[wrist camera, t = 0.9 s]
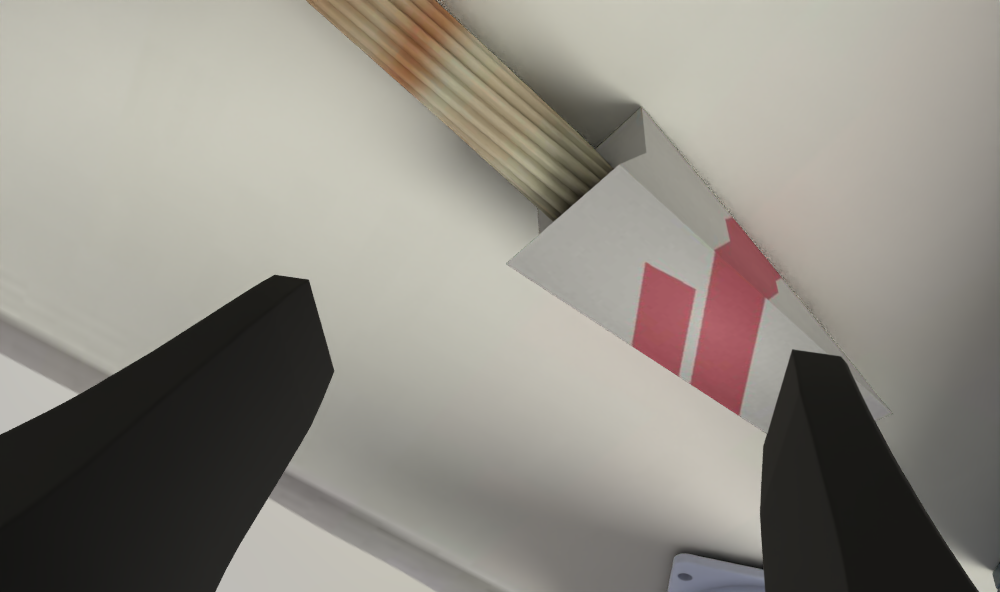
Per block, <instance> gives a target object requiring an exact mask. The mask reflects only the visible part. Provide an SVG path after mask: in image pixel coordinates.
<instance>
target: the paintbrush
mask: <svg viewBox="0 0 1000 592" xmlns="http://www.w3.org/2000/svg"><path fill="white" fill-rule="evenodd" d="M306 1H307V2H308V3H309V4H310V5H312V6H313V7H314V8H315V9H316V10H317V11H318V12H320V13H321V14H322V15H323V16H324V17H325V18H326V19H327V20H329V21H330V22H331V23H332V24H333V25H334V26H335V27H336V28H338V29H339V30H340V31H341V32H342V33H343V34H344V35H345V36H347V37H348V38H349V39H350V40H351V41H352V42H353V43H354V44H356V45H357V46H358V47H359V48H360V49H361V50H362V51H363V52H365V53H366V54H367V55H368V56H369V57H370V58H371V59H372V60H374V61H375V62H376V63H377V64H378V65H379V66H380V67H382V68H383V69H384V70H385V71H386V72H387V73H388V74H389V75H391V76H392V77H393V78H394V79H395V80H396V81H397V82H398V83H400V84H401V85H402V86H403V87H404V88H405V89H406V90H407V91H409V92H410V93H411V94H412V95H413V96H414V97H415V98H416V99H418V100H419V101H420V102H421V103H422V104H423V105H424V106H425V107H427V108H428V109H429V110H430V111H431V112H432V113H433V114H434V115H436V116H437V117H438V118H439V119H440V120H441V121H442V122H444V123H445V124H446V125H447V126H448V127H449V128H450V129H451V130H452V131H454V132H455V133H456V134H457V135H458V136H459V137H460V138H461V139H462V140H463V141H465V142H466V143H467V144H468V145H469V146H470V147H471V148H472V149H473V150H474V151H476V152H477V153H478V154H479V155H480V156H481V157H482V158H483V159H484V160H485V161H487V162H488V163H489V164H490V165H491V166H492V167H493V168H494V169H495V170H496V171H498V172H499V173H500V174H501V175H502V176H503V177H504V178H505V179H506V180H508V181H509V182H510V183H511V184H512V185H513V186H514V187H515V188H516V189H517V190H519V191H520V192H521V193H522V194H523V195H524V196H525V197H526V198H527V199H529V200H530V201H531V202H532V203H533V204H534V205H535V206H536V207H537V208H538V224H539V235H538V236H537V237H536V238H535V239H533V240H532V241H531V242H530V243H529V244H528V245H527V246H525V247H524V248H523V249H522V250H521V251H520V252H518V253H517V254H516V255H515V256H514V257H513V258H512V259H510V260H509V261H508V262H507V263H506V264H507V265H508V266H510V267H511V268H513V269H514V270H516V271H517V272H519V273H520V274H522V275H523V276H525V277H527V278H528V279H530V280H531V281H533V282H534V283H536V284H537V285H539V286H540V287H542V288H543V289H545V290H546V291H548V292H550V293H551V294H553V295H554V296H556V297H557V298H559V299H560V300H562V301H563V302H565V303H566V304H568V305H570V306H571V307H573V308H574V309H576V310H577V311H579V312H580V313H582V314H583V315H585V316H586V317H588V318H590V319H591V320H593V321H594V322H596V323H597V324H599V325H600V326H602V327H603V328H605V329H606V330H608V331H610V332H611V333H613V334H614V335H616V336H617V337H619V338H620V339H622V340H623V341H625V342H626V343H628V344H630V345H631V346H633V347H634V348H636V349H637V350H639V351H640V352H642V353H643V354H645V355H646V356H648V357H649V358H651V359H653V360H654V361H656V362H657V363H659V364H660V365H662V366H663V367H665V368H666V369H668V370H669V371H671V372H673V373H674V374H676V375H677V376H679V377H680V378H682V379H683V380H685V381H686V382H688V383H689V384H691V385H693V386H694V387H696V388H697V389H699V390H700V391H702V392H703V393H705V394H706V395H708V396H709V397H711V398H713V399H714V400H716V401H717V402H719V403H720V404H722V405H723V406H725V407H726V408H728V409H729V410H731V411H733V412H734V413H736V414H737V415H739V416H740V417H742V418H743V419H745V420H746V421H748V422H749V423H751V424H752V425H754V426H756V427H757V428H759V429H760V430H762V431H763V432H765V433H766V434H767V433H768V429H769V426H770V423H771V419H772V416H773V412H774V409H775V406H776V402H777V399H778V395H779V392H780V389H781V385H782V382H783V378H784V375H785V372H786V368H787V365H788V362H789V358H790V355H791V351H792V349H794V350H801V351H808V352H815V353H822V354H829V355H836V356H841V357H842V358H843V359H844V360H845V362H846V363H847V364H848V366H849V369H850V371H851V373H852V375H853V377H854V380H855V382H856V384H857V386H858V388H859V390H860V392H861V394H862V396H863V398H864V400H865V402H866V404H867V406H868V408H869V410H870V412H871V414H872V416H873V418H874V420H875V421H877V420H880V419H882V418H884V417H887V416H889V415H892V414H893V413H892V412H891V411H890V409H889V408H888V407H887V406H886V404H885V403H884V402H883V401H882V400H881V398H880V397H879V396H878V395H877V393H876V392H875V391H874V390H873V389H872V387H871V386H870V385H869V384H868V382H867V381H866V380H865V379H864V378H863V376H862V375H861V374H860V373H859V371H858V370H857V369H856V368H855V367H854V365H853V364H852V363H851V362H850V360H849V359H848V358H847V357H846V356H845V354H844V353H843V352H842V351H841V349H840V348H839V347H838V346H837V345H836V343H835V342H834V341H833V340H832V338H831V337H830V336H829V335H828V334H827V332H826V331H825V330H824V329H823V327H822V326H821V325H820V324H819V323H818V321H817V320H816V319H815V318H814V316H813V315H812V314H811V313H810V312H809V310H808V309H807V308H806V307H805V305H804V304H803V303H802V302H801V301H800V299H799V298H798V297H797V296H796V294H795V293H794V292H793V291H792V290H791V288H790V287H789V286H788V285H787V283H786V282H785V281H784V280H783V279H782V277H781V276H780V275H779V274H778V272H777V271H776V270H775V269H774V268H773V266H772V265H771V264H770V263H769V261H768V260H767V259H766V258H765V257H764V255H763V254H762V253H761V252H760V250H759V249H758V248H757V247H756V246H755V244H754V243H753V242H752V241H751V239H750V238H749V237H748V236H747V234H746V233H745V232H744V231H743V230H742V228H741V227H740V226H739V225H738V223H737V222H736V221H735V220H734V219H733V217H732V216H731V215H730V214H729V212H728V211H727V210H726V209H725V208H724V206H723V205H722V204H721V203H720V201H719V200H718V199H717V198H716V197H715V195H714V194H713V193H712V192H711V190H710V189H709V188H708V187H707V186H706V184H705V183H704V182H703V181H702V179H701V178H700V177H699V176H698V175H697V173H696V172H695V171H694V170H693V168H692V167H691V166H690V165H689V164H688V162H687V161H686V160H685V159H684V157H683V156H682V155H681V154H680V153H679V151H678V150H677V149H676V148H675V146H674V145H673V144H672V143H671V142H670V140H669V139H668V138H667V137H666V135H665V134H664V133H663V132H662V131H661V129H660V128H659V127H658V126H657V124H656V123H655V122H654V121H653V120H652V118H651V117H650V116H649V115H648V113H647V112H646V111H645V110H644V109H643V107H640V108H639V109H638V110H637V111H636V112H635V113H634V114H633V115H632V116H631V117H630V118H629V119H628V120H626V121H625V122H624V123H623V124H622V125H621V126H620V127H619V128H618V129H617V130H616V131H615V132H613V133H612V134H611V135H610V136H609V137H608V138H607V139H606V140H605V141H604V142H603V143H602V144H600V145H599V146H598V147H597V148H596V149H594V148H593V147H592V146H591V145H590V144H589V143H588V142H587V141H586V140H585V139H584V138H583V137H582V136H581V135H580V134H578V133H577V132H576V131H575V130H574V129H573V128H572V127H571V126H570V125H569V124H568V123H567V122H566V121H565V120H563V119H562V118H561V117H560V116H559V115H558V114H557V113H556V112H555V111H554V110H553V109H552V108H551V107H549V106H548V105H547V104H546V103H545V102H544V101H543V100H542V99H541V98H540V97H539V96H538V95H537V94H535V93H534V92H533V91H532V90H531V89H530V88H529V87H528V86H527V85H526V84H525V83H524V82H523V81H522V80H520V79H519V78H518V77H517V76H516V75H515V74H514V73H513V72H512V71H511V70H510V69H509V68H508V67H506V66H505V65H504V64H503V63H502V62H501V61H500V60H499V59H498V58H497V57H496V56H495V55H494V54H493V53H491V52H490V51H489V50H488V49H487V48H486V47H485V46H484V45H483V44H482V43H481V42H480V41H478V40H477V39H476V38H475V37H474V36H473V35H472V34H471V33H470V32H469V31H468V30H467V29H465V28H464V27H463V26H462V25H461V24H460V23H459V22H458V21H457V20H456V19H455V18H454V17H452V16H451V15H450V14H449V13H448V12H447V11H446V10H445V9H444V8H443V7H442V6H441V5H439V4H438V3H437V2H436V1H435V0H306Z"/></svg>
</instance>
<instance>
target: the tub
mask: <svg viewBox="0 0 1000 592" xmlns="http://www.w3.org/2000/svg"><path fill="white" fill-rule="evenodd" d="M993 578H994V582H995V586H996V588H997V589H998V591H997V592H1000V563H999V565H998V566H997V567H996V569H995V570H994V571H993Z"/></svg>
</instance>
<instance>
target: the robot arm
mask: <svg viewBox="0 0 1000 592" xmlns="http://www.w3.org/2000/svg"><path fill="white" fill-rule="evenodd" d="M333 373H334V368H333V365H332V361H331V358H330V354H329V350H328V347H327V343H326V340H325V336H324V333H323V329H322V325H321V322H320V318H319V315H318V311H317V307H316V304H315V300H314V297H313V293H312V290H311V286H310V282H309V280H307V279H300V278H293V277H286V276H279V275H273V276H272V277H270V278H268V279H266V280H265V281H263V282H261V283H259V284H258V285H256V286H255V287H253V288H251V289H250V290H248V291H246V292H245V293H243V294H242V295H240V296H238V297H237V298H235V299H234V300H232V301H231V302H229V303H228V304H226V305H224V306H223V307H221V308H220V309H218V310H217V311H215V312H214V313H212V314H210V315H209V316H207V317H206V318H204V319H203V320H201V321H200V322H198V323H197V324H195V325H193V326H192V327H190V328H189V329H187V330H186V331H184V332H182V333H181V334H179V335H178V336H176V337H175V338H173V339H171V340H170V341H168V342H167V343H165V344H164V345H162V346H160V347H159V348H157V349H156V350H154V351H152V352H151V353H149V354H148V355H146V356H144V357H142V358H141V359H139V360H137V361H136V362H134V363H132V364H131V365H129V366H127V367H125V368H124V369H122V370H120V371H119V372H117V373H115V374H114V375H112V376H110V377H108V378H107V379H105V380H103V381H102V382H100V383H98V384H97V385H95V386H93V387H91V388H90V389H88V390H86V391H85V392H83V393H81V394H79V395H77V396H76V397H74V398H72V399H70V400H68V401H66V402H65V403H63V404H61V405H59V406H57V407H55V408H53V409H51V410H49V411H47V412H46V413H43V414H41V415H39V416H37V417H35V418H33V419H31V420H29V421H28V422H25V423H23V424H21V425H19V426H17V427H15V428H13V429H11V430H9V431H7V432H5V433H3V434H1V435H0V592H215V591H216V589H217V587H218V585H219V583H220V581H221V578H222V577H223V575H224V573H225V570H226V569H227V567H228V565H229V563H230V561H231V559H232V558H233V556H234V554H235V552H236V550H237V548H238V547H239V545H240V543H241V542H242V540H243V538H244V536H245V535H246V533H247V532H248V530H249V528H250V526H251V525H252V523H253V522H254V520H255V518H256V517H257V515H258V514H259V512H260V510H261V508H262V507H263V505H264V504H265V502H266V500H267V499H268V497H269V495H270V494H271V492H272V491H273V489H274V487H275V486H276V484H277V482H278V481H279V479H280V477H281V476H282V474H283V472H284V471H285V469H286V467H287V466H288V464H289V462H290V461H291V459H292V457H293V456H294V454H295V452H296V451H297V449H298V447H299V446H300V444H301V442H302V441H303V439H304V437H305V435H306V434H307V432H308V430H309V428H310V427H311V425H312V422H313V420H314V418H315V416H316V413H317V411H318V409H319V407H320V405H321V402H322V400H323V398H324V395H325V393H326V390H327V388H328V385H329V383H330V381H331V378H332V376H333ZM760 521H761V537H762V553H763V568H764V570H763V569H758V568H753V567H749V566H744V565H739V564H734V563H730V562H725V561H720V560H716V559H711V558H706V557H701V556H697V555H692V554H686V553H682V554H678V555H676V556H675V557H674V559H673V564H672V569H671V574H670V580H669V585H668V590H667V592H979V591H978V590H977V588H976V587H975V586H974V584H973V583H972V581H971V580H970V578H969V577H968V575H967V574H966V572H965V571H964V569H963V568H962V566H961V565H960V563H959V562H958V560H957V559H956V557H955V556H954V554H953V553H952V551H951V550H950V548H949V547H948V545H947V544H946V542H945V541H944V539H943V538H942V536H941V535H940V533H939V531H938V530H937V528H936V527H935V525H934V523H933V522H932V520H931V519H930V517H929V515H928V514H927V512H926V511H925V509H924V507H923V506H922V504H921V502H920V500H919V499H918V497H917V495H916V494H915V492H914V490H913V489H912V487H911V485H910V483H909V482H908V480H907V478H906V477H905V475H904V473H903V472H902V470H901V468H900V466H899V465H898V463H897V461H896V459H895V458H894V456H893V454H892V452H891V450H890V448H889V447H888V445H887V443H886V441H885V439H884V437H883V435H882V434H881V432H880V430H879V428H878V426H877V424H876V422H875V420H874V418H873V416H872V414H871V412H870V410H869V408H868V406H867V404H866V402H865V400H864V398H863V396H862V394H861V392H860V390H859V388H858V386H857V384H856V382H855V380H854V377H853V375H852V373H851V371H850V369H849V366H848V364H847V363H846V362H845V360H844V359H843V358H842V357H841V356H836V355H829V354H822V353H815V352H808V351H801V350H794V349H792V351H791V355H790V358H789V362H788V365H787V368H786V372H785V375H784V378H783V382H782V385H781V389H780V392H779V395H778V399H777V402H776V406H775V409H774V412H773V416H772V419H771V423H770V426H769V429H768V433H767V436H766V440H765V443H764V446H763V464H762V482H761V505H760Z"/></svg>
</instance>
